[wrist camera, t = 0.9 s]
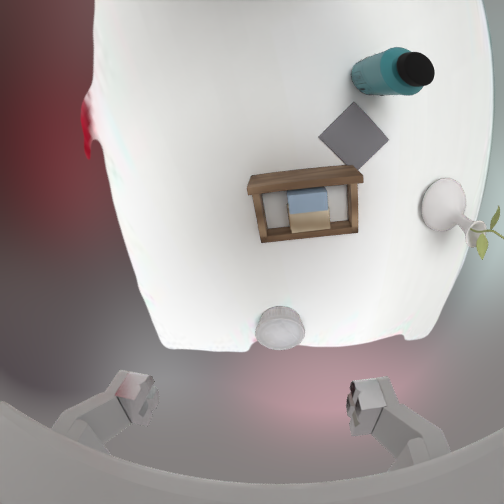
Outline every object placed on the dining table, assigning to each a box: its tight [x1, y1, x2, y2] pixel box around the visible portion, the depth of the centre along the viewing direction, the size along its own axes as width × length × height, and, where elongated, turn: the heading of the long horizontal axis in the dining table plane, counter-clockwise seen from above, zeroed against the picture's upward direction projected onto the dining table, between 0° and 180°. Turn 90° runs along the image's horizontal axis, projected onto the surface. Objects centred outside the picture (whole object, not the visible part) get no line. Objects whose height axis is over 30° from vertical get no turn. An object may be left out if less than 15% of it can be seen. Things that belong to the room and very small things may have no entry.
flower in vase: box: [422, 178, 504, 260], centre depth 34 cm, size 13×11×25 cm
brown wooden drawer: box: [247, 165, 363, 243], centre depth 46 cm, size 12×18×7 cm, turn 100°
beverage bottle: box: [351, 47, 435, 96], centre depth 27 cm, size 6×7×20 cm
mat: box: [319, 102, 389, 170], centre depth 42 cm, size 9×9×1 cm
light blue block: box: [287, 186, 328, 214], centre depth 44 cm, size 3×6×8 cm, turn 100°
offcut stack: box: [287, 204, 330, 233], centre depth 48 cm, size 4×7×4 cm, turn 101°
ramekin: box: [255, 306, 305, 350], centre depth 63 cm, size 11×11×5 cm
